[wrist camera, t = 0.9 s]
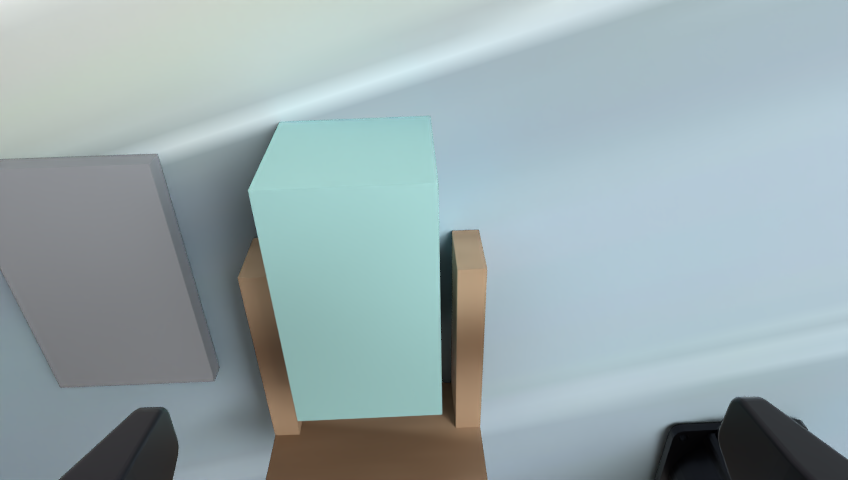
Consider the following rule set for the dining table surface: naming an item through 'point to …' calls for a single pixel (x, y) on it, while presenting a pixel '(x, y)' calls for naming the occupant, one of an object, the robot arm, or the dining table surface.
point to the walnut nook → (384, 436)
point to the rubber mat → (102, 271)
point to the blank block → (354, 264)
